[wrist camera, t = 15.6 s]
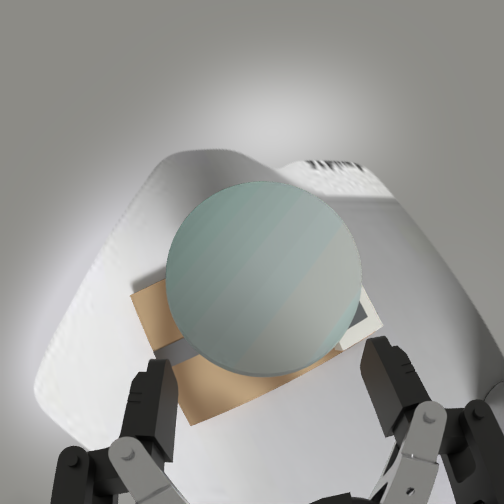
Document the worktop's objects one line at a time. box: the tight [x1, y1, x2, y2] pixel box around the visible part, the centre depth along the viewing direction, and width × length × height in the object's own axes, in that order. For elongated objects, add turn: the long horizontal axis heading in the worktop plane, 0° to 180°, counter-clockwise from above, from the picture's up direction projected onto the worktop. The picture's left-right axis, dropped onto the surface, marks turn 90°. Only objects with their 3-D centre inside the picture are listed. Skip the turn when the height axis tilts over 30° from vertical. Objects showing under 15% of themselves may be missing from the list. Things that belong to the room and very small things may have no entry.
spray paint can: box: [166, 181, 362, 377], centre depth 19 cm, size 6×6×20 cm
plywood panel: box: [130, 278, 376, 426], centre depth 30 cm, size 20×14×2 cm
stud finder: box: [334, 286, 383, 351], centre depth 28 cm, size 9×4×3 cm, turn 27°
